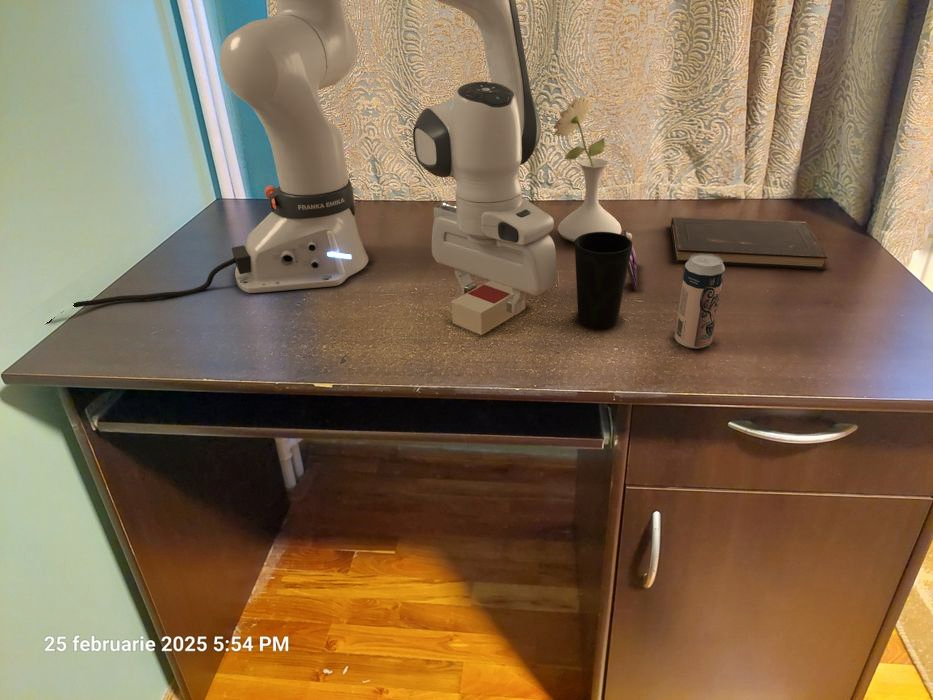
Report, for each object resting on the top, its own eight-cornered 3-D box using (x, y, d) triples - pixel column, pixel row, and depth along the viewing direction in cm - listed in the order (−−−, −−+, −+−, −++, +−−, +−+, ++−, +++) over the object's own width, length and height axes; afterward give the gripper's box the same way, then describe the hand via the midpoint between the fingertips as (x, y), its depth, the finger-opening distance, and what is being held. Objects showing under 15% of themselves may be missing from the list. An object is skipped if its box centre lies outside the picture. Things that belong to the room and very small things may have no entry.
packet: (481, 335, 93) (480, 312, 91) (452, 323, 96) (451, 300, 94) (525, 308, 99) (525, 286, 97) (496, 298, 103) (496, 276, 101)
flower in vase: (600, 222, 128) (610, 84, 114) (633, 243, 118) (647, 96, 105) (538, 233, 124) (541, 92, 111) (567, 256, 115) (574, 105, 102)
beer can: (705, 354, 87) (720, 270, 80) (669, 345, 89) (681, 263, 83) (715, 337, 90) (730, 256, 84) (680, 329, 92) (692, 249, 86)
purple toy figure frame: (630, 250, 99) (630, 228, 107) (596, 259, 101) (598, 237, 109) (641, 289, 102) (640, 265, 110) (608, 297, 104) (609, 273, 112)
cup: (591, 338, 91) (597, 258, 85) (560, 315, 97) (563, 238, 91) (636, 324, 94) (644, 245, 88) (602, 303, 100) (608, 227, 94)
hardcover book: (824, 269, 107) (827, 256, 105) (675, 262, 111) (677, 249, 110) (802, 232, 120) (805, 220, 119) (670, 227, 124) (672, 215, 123)
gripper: (418, 204, 94) (425, 292, 101) (535, 236, 82) (534, 333, 89) (448, 192, 98) (453, 277, 105) (564, 221, 86) (560, 315, 93)
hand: (491, 303), depth 97 cm, fingers open, 7 cm apart
